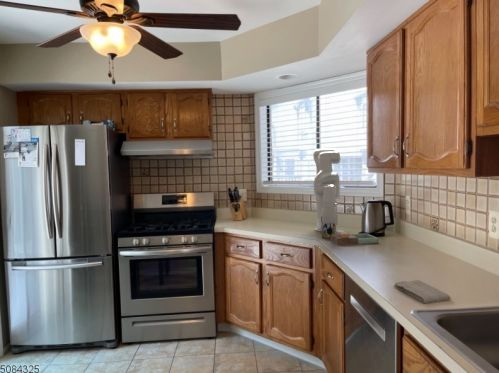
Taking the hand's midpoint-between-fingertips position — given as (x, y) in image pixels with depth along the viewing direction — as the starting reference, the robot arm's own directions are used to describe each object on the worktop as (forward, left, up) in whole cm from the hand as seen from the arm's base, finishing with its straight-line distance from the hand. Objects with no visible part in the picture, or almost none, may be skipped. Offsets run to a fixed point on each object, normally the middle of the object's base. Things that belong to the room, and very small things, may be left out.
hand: (329, 234), depth 218 cm
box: (+3, +21, -5) cm, 21 cm away
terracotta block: (+6, +7, -1) cm, 10 cm away
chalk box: (-14, +5, -5) cm, 16 cm away
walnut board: (+3, +8, -5) cm, 10 cm away
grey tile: (0, +7, -1) cm, 7 cm away
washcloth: (+89, +2, -6) cm, 89 cm away
